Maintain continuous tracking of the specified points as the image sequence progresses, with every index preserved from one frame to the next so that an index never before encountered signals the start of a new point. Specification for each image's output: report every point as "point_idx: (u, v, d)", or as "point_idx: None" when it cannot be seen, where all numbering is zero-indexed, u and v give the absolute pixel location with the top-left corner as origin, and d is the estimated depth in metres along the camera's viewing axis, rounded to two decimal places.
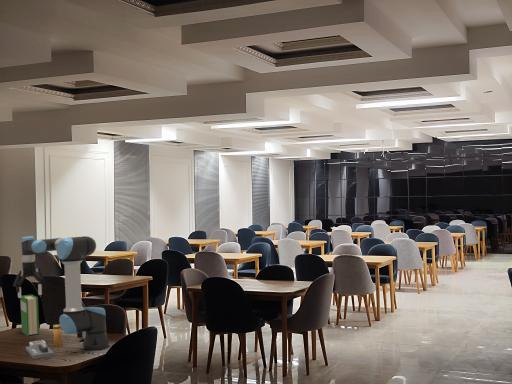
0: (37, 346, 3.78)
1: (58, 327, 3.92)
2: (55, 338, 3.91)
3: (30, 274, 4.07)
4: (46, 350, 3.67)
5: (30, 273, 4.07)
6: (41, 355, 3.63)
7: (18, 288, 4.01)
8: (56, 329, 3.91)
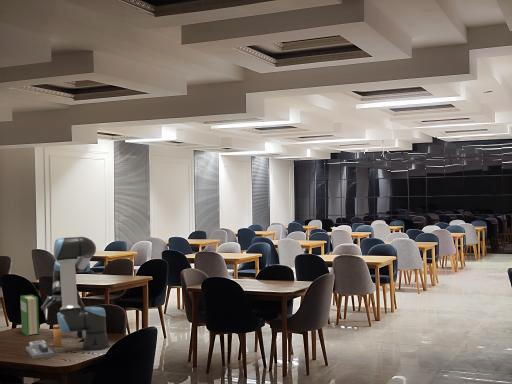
0: (37, 346, 3.78)
1: (58, 327, 3.92)
2: (55, 338, 3.91)
3: (58, 298, 4.12)
4: (46, 350, 3.67)
5: (58, 298, 4.13)
6: (41, 355, 3.63)
7: (45, 310, 4.05)
8: (56, 329, 3.91)
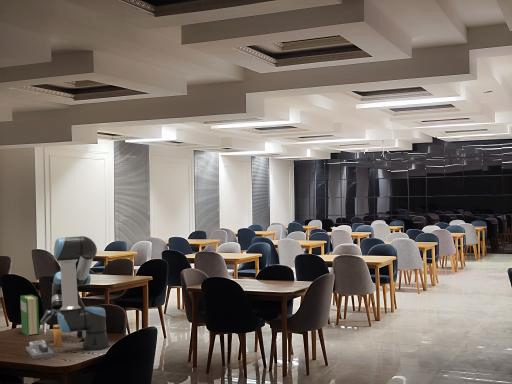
0: (37, 346, 3.78)
1: (58, 327, 3.92)
2: (55, 338, 3.91)
3: (57, 313, 4.03)
4: (46, 350, 3.67)
5: (58, 312, 4.04)
6: (41, 355, 3.63)
7: (43, 324, 3.97)
8: (56, 329, 3.91)
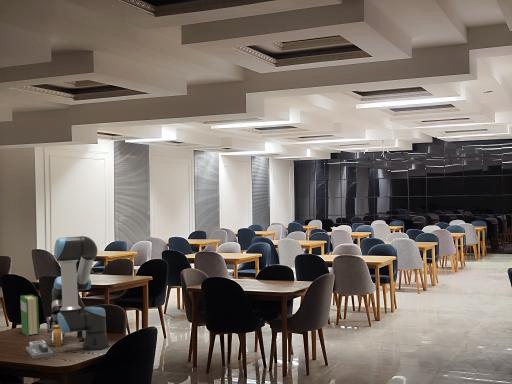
0: (37, 346, 3.78)
1: (58, 327, 3.92)
2: (55, 338, 3.91)
3: (58, 318, 4.00)
4: (46, 350, 3.67)
5: None
6: (41, 355, 3.63)
7: (51, 332, 3.92)
8: (56, 329, 3.91)
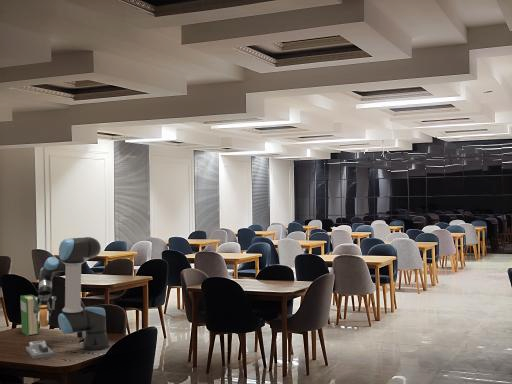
0: (37, 346, 3.78)
1: (44, 307, 3.86)
2: (41, 319, 3.85)
3: (44, 298, 3.94)
4: (46, 350, 3.67)
5: (44, 298, 3.94)
6: (41, 355, 3.63)
7: (37, 313, 3.86)
8: (42, 309, 3.85)
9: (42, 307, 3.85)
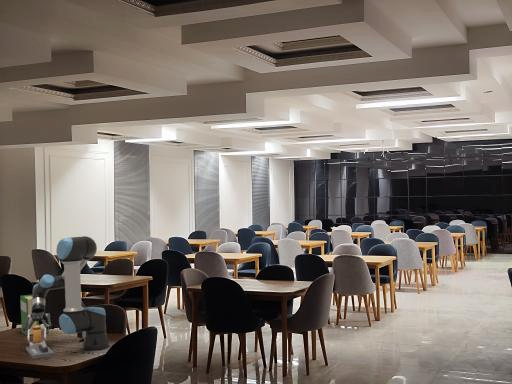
0: (37, 346, 3.78)
1: (38, 328, 3.81)
2: (35, 339, 3.80)
3: (38, 316, 3.89)
4: (46, 350, 3.67)
5: (38, 315, 3.89)
6: (41, 355, 3.63)
7: (27, 330, 3.81)
8: (35, 330, 3.80)
9: (35, 327, 3.80)
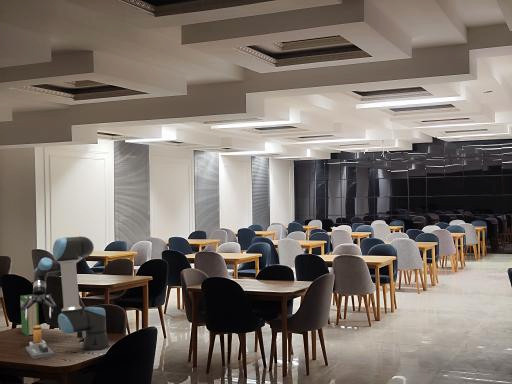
0: (37, 346, 3.78)
1: (38, 328, 3.81)
2: (35, 339, 3.80)
3: (39, 298, 4.00)
4: (46, 350, 3.67)
5: (39, 298, 4.01)
6: (41, 355, 3.63)
7: (24, 310, 3.93)
8: (36, 330, 3.80)
9: (36, 327, 3.80)
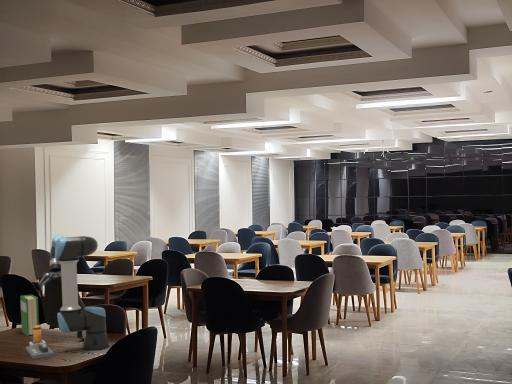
0: (37, 346, 3.78)
1: (38, 328, 3.81)
2: (35, 339, 3.80)
3: (56, 275, 4.07)
4: (46, 350, 3.67)
5: (56, 274, 4.08)
6: (41, 355, 3.63)
7: (42, 286, 4.01)
8: (36, 330, 3.80)
9: (36, 327, 3.80)
